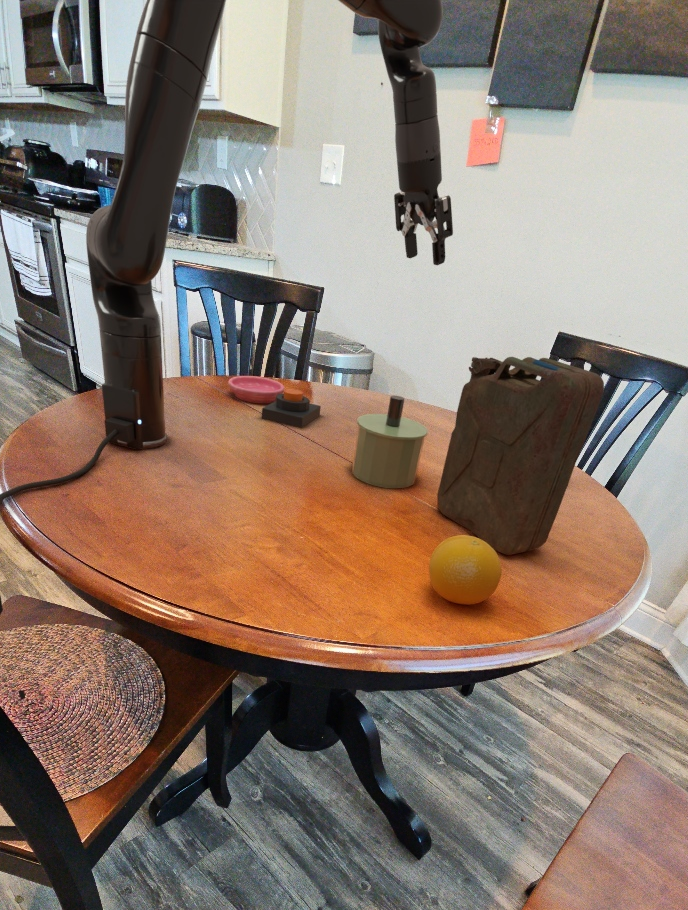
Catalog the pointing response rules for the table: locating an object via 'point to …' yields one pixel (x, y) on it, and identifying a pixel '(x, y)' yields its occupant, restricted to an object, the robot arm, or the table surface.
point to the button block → (291, 411)
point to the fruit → (464, 569)
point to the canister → (516, 448)
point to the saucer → (255, 389)
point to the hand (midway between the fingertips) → (425, 260)
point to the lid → (393, 423)
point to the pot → (386, 460)
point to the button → (293, 395)
